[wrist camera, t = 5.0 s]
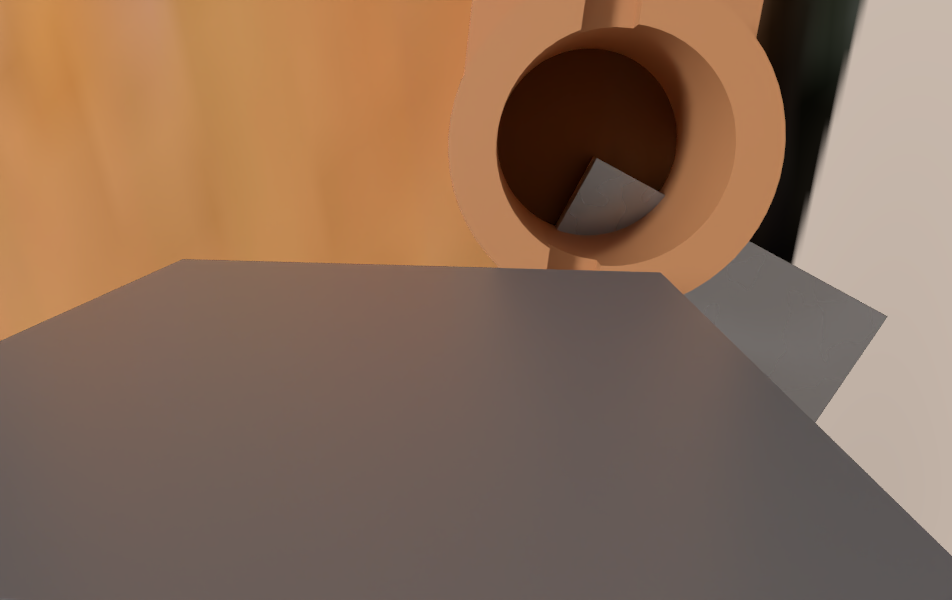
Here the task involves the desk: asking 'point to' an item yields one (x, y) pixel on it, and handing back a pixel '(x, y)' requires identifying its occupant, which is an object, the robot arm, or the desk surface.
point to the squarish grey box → (424, 447)
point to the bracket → (697, 121)
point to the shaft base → (748, 297)
